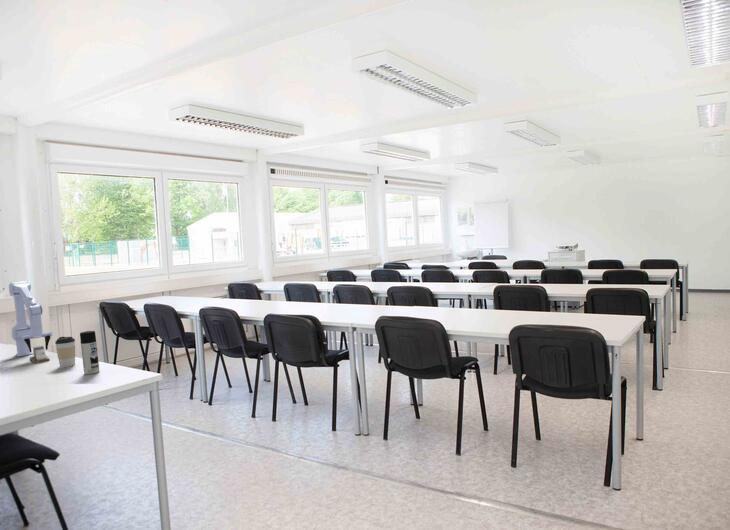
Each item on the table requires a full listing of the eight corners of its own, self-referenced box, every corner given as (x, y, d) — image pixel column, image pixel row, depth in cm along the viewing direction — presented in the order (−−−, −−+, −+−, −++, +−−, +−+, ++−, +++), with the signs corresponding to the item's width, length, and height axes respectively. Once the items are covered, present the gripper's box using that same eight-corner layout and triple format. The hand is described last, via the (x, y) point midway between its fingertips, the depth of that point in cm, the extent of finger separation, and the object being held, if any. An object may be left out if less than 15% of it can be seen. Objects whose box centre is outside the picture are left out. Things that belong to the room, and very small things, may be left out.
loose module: (34, 356, 298) (33, 347, 298) (43, 355, 301) (42, 345, 301) (35, 358, 294) (34, 348, 294) (44, 356, 297) (43, 346, 296)
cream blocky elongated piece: (30, 358, 302) (29, 347, 302) (45, 356, 307) (44, 345, 306) (33, 363, 289) (32, 351, 288) (49, 360, 293) (48, 349, 293)
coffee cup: (81, 364, 278) (78, 335, 277) (63, 368, 270) (60, 339, 269) (71, 363, 282) (68, 335, 281) (54, 367, 275) (51, 338, 274)
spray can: (93, 374, 252) (88, 333, 251) (80, 374, 253) (76, 333, 252) (102, 371, 258) (98, 330, 257) (90, 371, 260) (86, 330, 259)
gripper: (21, 329, 289) (24, 354, 290) (52, 325, 298) (54, 349, 299) (20, 328, 295) (22, 352, 296) (50, 324, 303) (52, 347, 304)
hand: (38, 350), depth 297 cm, fingers open, 7 cm apart
